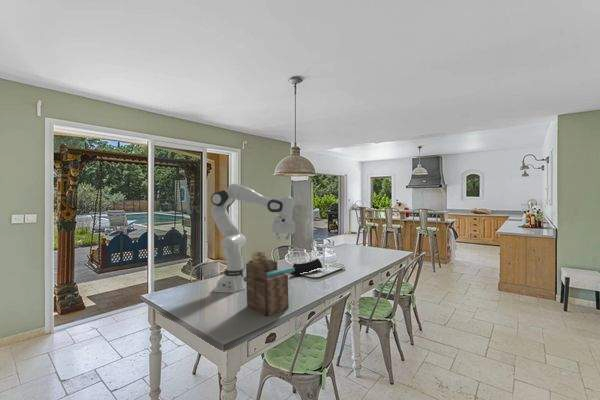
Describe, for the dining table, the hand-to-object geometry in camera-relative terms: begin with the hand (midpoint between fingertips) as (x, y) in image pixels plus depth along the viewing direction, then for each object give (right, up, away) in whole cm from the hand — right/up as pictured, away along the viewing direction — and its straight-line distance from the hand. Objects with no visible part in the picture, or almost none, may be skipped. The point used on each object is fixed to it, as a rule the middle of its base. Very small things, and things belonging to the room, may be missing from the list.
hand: (282, 239), depth 196 cm
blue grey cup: (-26, -37, +43) cm, 62 cm away
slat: (-1, -17, -26) cm, 31 cm away
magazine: (+18, -36, +47) cm, 62 cm away
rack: (-7, -37, -25) cm, 46 cm away
